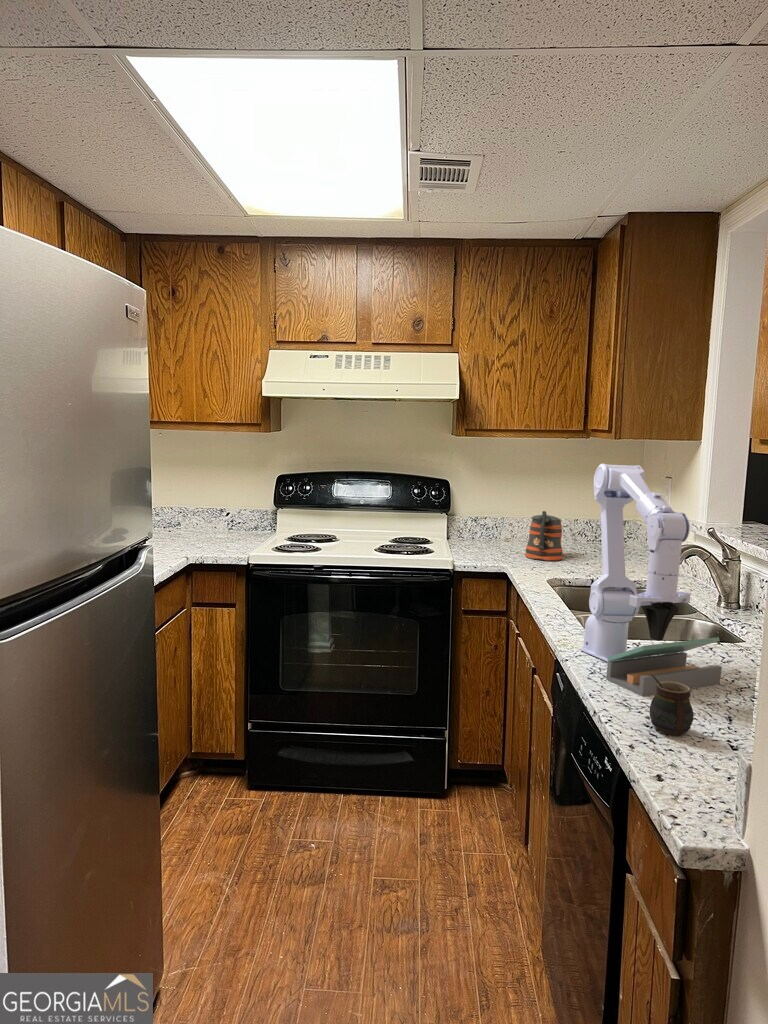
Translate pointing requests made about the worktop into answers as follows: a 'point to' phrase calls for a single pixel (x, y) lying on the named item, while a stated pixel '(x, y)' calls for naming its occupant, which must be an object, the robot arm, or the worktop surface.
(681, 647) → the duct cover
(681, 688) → the mate gourd
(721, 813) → the worktop surface
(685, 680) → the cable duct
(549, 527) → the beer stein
